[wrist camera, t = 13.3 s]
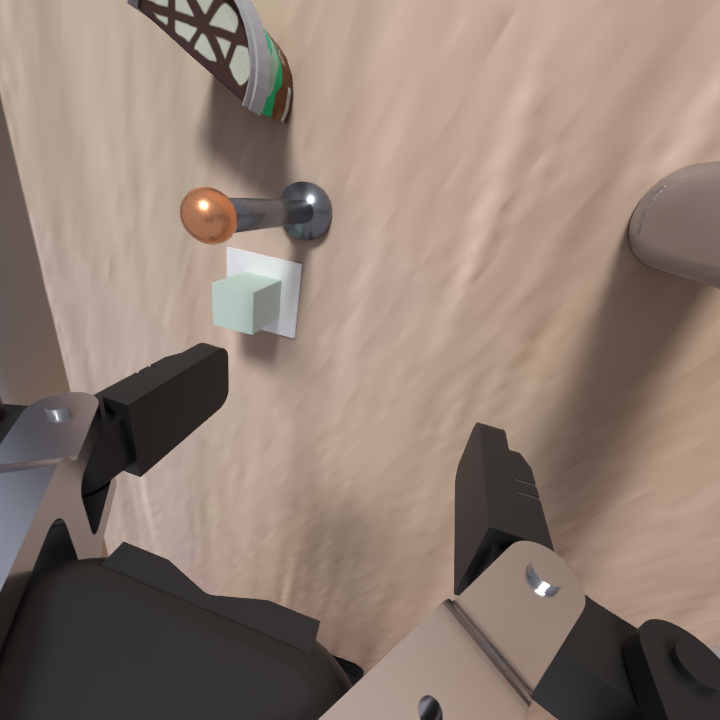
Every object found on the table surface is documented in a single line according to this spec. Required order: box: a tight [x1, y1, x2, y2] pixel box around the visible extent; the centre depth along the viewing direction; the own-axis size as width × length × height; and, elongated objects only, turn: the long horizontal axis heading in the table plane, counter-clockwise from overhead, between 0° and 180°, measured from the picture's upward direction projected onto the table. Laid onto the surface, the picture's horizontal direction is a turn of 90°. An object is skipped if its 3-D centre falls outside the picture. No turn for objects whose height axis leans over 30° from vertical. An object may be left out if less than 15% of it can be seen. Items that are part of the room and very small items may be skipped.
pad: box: [227, 247, 302, 338], centre depth 45 cm, size 10×10×1 cm
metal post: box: [180, 182, 332, 245], centre depth 30 cm, size 6×6×20 cm
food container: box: [126, 0, 293, 123], centre depth 30 cm, size 12×6×10 cm, turn 52°
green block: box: [212, 272, 282, 335], centre depth 41 cm, size 5×5×7 cm
